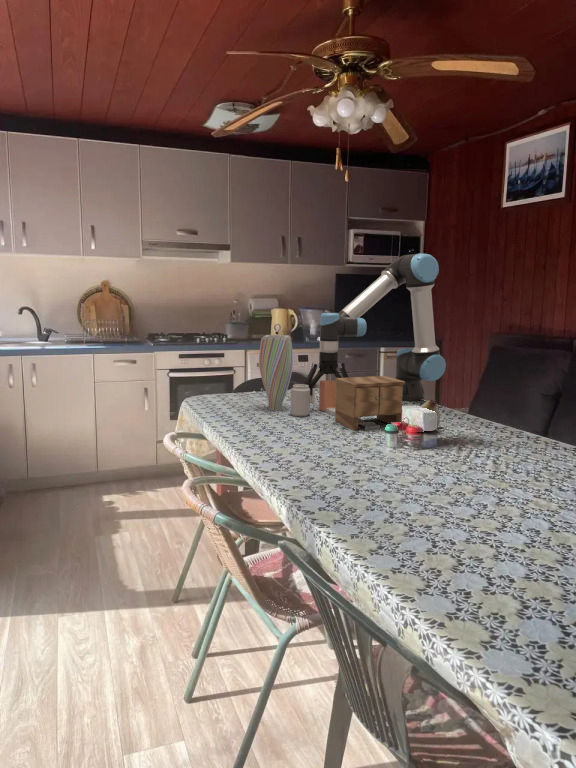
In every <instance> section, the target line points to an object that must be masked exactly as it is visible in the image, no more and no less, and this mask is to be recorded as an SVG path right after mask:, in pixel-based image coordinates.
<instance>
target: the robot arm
mask: <svg viewBox="0 0 576 768" xmlns="http://www.w3.org/2000/svg"><path fill="white" fill-rule="evenodd" d="M439 267H440V266H439V262H438V260H437V259H436V258H435V257H434V256H433V255H431V254H428V253H414V254H413V253H412V254H404V255H401V256H399V257H398V258H397V259H395V260H394V261H392V262H391V263H390V264H389V265H388V266H387V267H385V269H384V270H382V271H381V272H380V273H381V275H380V276H379V277H378V278H377V279H376V280H374V281H373V282H372V283H370V285H369V286H368V287H367V288H366V289H364V290H363V291H362V292H361V293H360V294H358V295H357V296H356V297H355V298H354V299H353V300H351V301H350V302H349V303H348V304H347V305H345V307H344V308H343V309H341V310H340V311H339V312H322V313H321V314H320V320H319V321H320V322H319V353H318V354H319V356H318V359H319V360H318V361H319V363H314V362H313V363H312V364H311V369H310V371H309V373H308V375H307V377H306V378H305V380H304V383H303V384H305V385H308V387H309V389H310V405H315V393H316V392H315V391H316V390H315V385H316V384H317V383H318V382H319V381H320V380H321V378H322V377H323V376H324V375H334V377H335V378H350V377H349V375H348V373H347V370H346V366H345V363H344V362H342V361H340V362H338V360H339V353H338V351H339V337H357V338H358V337H363V336H364V335H366V333H367V327H368V326H367V322H366V319H364V318H362V317H361V316H363V315H364V314H366V312H368V310H370V309H371V308H372V307H373V306H375V304H376V303H378V302H379V301H380V300H381V299H382V298H384V297H385V296H386V295H387V294H388V293H389V292H390V291H391V290H393V289H397V288H398V287H400V286H401V285H402V284H406V285H405V286H406V289H407V290H408V291H409V292H410V302H411V311H412V312H411V313H412V323H413V325H412V326H413V337H414V347H413V348H399V349H398V350H397V351H396V357H395V358H396V363H395V379H397V380H401V381H405V384H403V397H402V401H406V402H407V401H409V402H410V401H411V402H412V401H415V402H416V401H423V400H425V392H424V386H423V383H422V380H423V381H425V382H426V381H429V382H433V381H434V382H435V381H437V380H439V379H440V378H441V377H442V376H443V375H444V374H445V371H446V367H447V363H446V359H445V358H444V357H443V356H442V355H441V353H440V347H439V346H437V344H436V335H435V323H434V321H435V320H434V309H433V308H434V307H433V296H432V289H433V287H434V286H435V279H437V276H438V275H439V271H440V269H439ZM338 368H339V370H340V373H341V374H340V373H339V371H338V370H337V369H338ZM317 370H318V371H317ZM316 372H317V373H316ZM341 375H342V376H341Z"/></svg>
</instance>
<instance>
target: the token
mask: <svg viewBox="0 0 576 768" xmlns="http://www.w3.org/2000/svg"><path fill="white" fill-rule="evenodd" d="M358 429H360V430H362V431H364V432H368V431H371V432H372V431H379V430H381V425H380V424H378V423H375V422H373V421H364V422H363V423H358Z"/></svg>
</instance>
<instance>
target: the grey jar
mask: <svg viewBox="0 0 576 768" xmlns="http://www.w3.org/2000/svg"><path fill="white" fill-rule="evenodd" d="M310 413H311V403H310V389H309V387H308V385H305V384H304V383H298V384H293V385H292V387H291V389H290V414H291V415H292V416H293V417H297V416H299V418H300V417H303V416H304V417H307V416H308V415H310ZM304 417H303V418H304Z"/></svg>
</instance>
